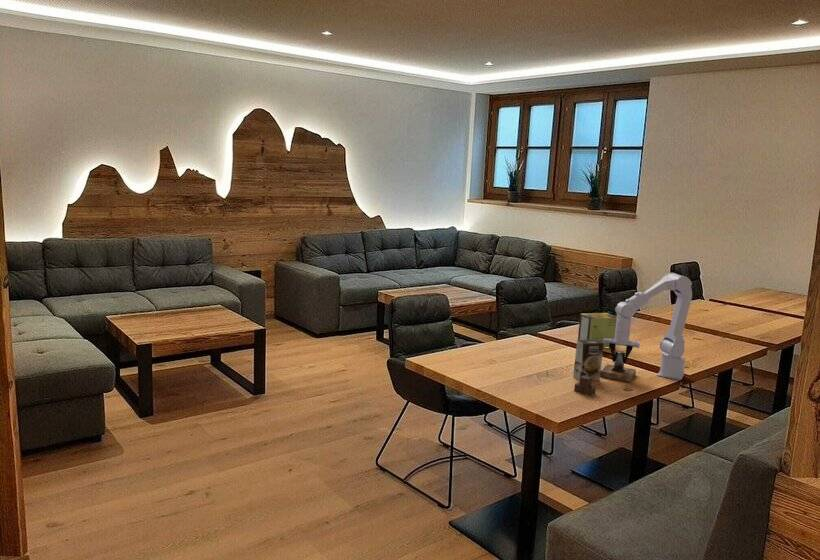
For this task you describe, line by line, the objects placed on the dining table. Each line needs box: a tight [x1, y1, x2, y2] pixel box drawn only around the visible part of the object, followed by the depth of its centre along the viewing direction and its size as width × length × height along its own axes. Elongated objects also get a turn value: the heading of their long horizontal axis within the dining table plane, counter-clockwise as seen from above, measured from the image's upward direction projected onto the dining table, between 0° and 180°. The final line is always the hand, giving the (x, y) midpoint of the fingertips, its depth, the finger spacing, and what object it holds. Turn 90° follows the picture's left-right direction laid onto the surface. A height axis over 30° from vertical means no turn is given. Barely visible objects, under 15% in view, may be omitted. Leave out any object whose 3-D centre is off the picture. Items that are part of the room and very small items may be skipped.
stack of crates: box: [573, 375, 597, 397], centre depth 249 cm, size 15×15×7 cm
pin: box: [613, 350, 626, 370], centre depth 269 cm, size 4×4×7 cm
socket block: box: [600, 363, 637, 383], centre depth 270 cm, size 12×12×2 cm
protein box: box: [577, 312, 617, 349], centre depth 314 cm, size 10×15×16 cm
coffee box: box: [572, 339, 604, 382], centre depth 263 cm, size 9×6×16 cm
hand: (619, 362), depth 269 cm, fingers closed on pin, 4 cm apart
